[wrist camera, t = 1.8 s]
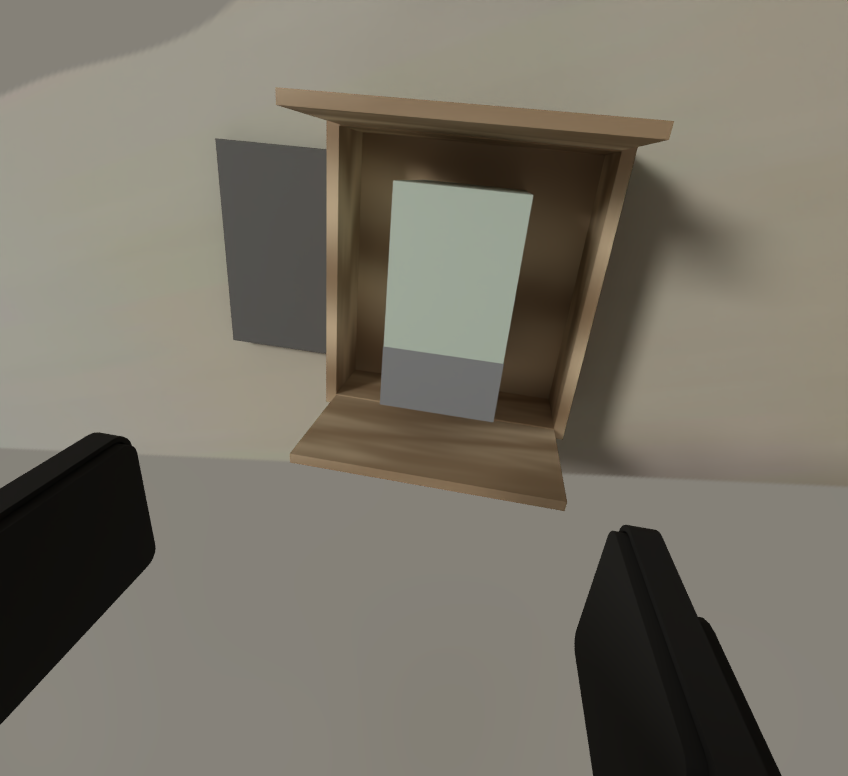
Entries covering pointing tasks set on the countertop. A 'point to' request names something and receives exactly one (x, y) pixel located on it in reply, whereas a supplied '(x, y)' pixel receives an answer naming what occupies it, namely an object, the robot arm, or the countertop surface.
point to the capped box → (451, 294)
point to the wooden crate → (535, 296)
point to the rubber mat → (275, 242)
